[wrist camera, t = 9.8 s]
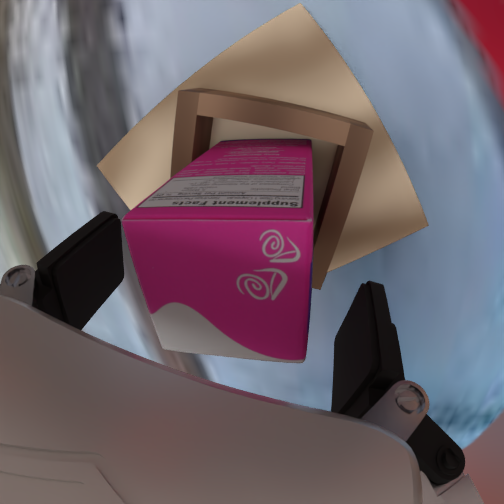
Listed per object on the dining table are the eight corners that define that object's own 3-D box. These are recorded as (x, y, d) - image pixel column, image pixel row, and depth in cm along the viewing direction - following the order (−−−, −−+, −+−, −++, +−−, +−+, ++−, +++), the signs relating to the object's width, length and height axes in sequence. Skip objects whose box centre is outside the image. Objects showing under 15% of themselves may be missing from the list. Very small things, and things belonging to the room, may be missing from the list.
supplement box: (315, 225, 20) (304, 371, 10) (227, 222, 21) (154, 350, 12) (316, 136, 17) (314, 222, 7) (218, 138, 18) (107, 219, 8)
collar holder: (424, 218, 19) (442, 248, 16) (223, 308, 27) (210, 341, 23) (301, 6, 13) (297, -12, 10) (104, 161, 21) (72, 179, 18)
